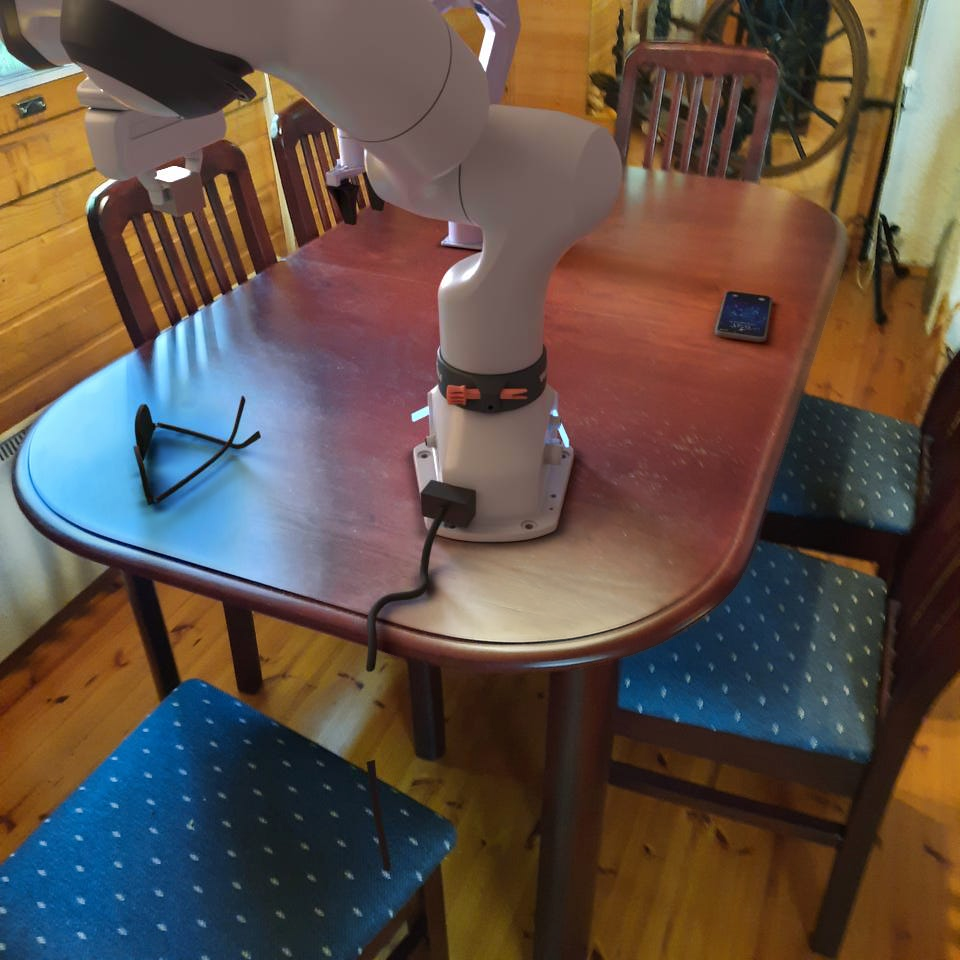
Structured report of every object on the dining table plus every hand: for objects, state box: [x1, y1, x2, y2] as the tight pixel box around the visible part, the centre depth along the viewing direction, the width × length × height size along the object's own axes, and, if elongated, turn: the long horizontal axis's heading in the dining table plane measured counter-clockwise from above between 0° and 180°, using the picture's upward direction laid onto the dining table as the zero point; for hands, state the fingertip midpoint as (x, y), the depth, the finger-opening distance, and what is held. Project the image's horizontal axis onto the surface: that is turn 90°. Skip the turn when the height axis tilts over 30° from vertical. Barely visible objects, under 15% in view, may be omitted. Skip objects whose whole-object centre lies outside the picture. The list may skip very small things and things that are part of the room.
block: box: [151, 165, 207, 218], centre depth 107 cm, size 4×5×4 cm
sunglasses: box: [132, 395, 262, 506], centre depth 100 cm, size 17×14×5 cm
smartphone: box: [714, 290, 774, 343], centre depth 128 cm, size 7×1×15 cm
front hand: (177, 195), depth 107 cm, fingers closed on block, 5 cm apart
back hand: (364, 216), depth 146 cm, fingers open, 7 cm apart
